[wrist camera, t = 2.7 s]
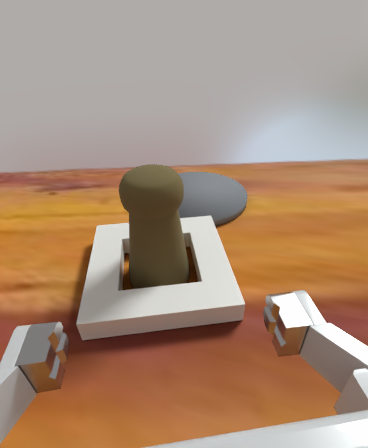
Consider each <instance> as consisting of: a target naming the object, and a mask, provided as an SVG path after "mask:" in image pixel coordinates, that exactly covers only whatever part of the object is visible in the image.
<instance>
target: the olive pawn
mask: <svg viewBox="0 0 368 448" xmlns="http://www.w3.org/2000/svg"><path fill="white" fill-rule="evenodd" d="M119 194H120V199H121V202H122V204H123V207H124V209H126V210H127V211H128V212H129V279H130V283H131V285H132V286H133V288H134V289H139V288H148V287H157V286H166V285H175V284H184V283H187V282H188V280H189V277H190V269H189V263H188V258H187V253H186V248H185V242H184V237H183V232H182V227H181V221H180V216H179V211H178V208H179V207H180V205H181V204H182V201H183V197H184V185H183V181H182V179H181V177H180V176H179V175H178V173H177V172H176V171H175V170H173V169H172V168H170V167H167V166H163V165H143V166H139V167H136V168H134V169H132V170H130V171H128V172H127V173H126V174H125V175H124V176H123V178H122V180H121V182H120V185H119Z"/></svg>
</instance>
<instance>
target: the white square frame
mask: <svg viewBox="0 0 368 448" xmlns="http://www.w3.org/2000/svg"><path fill="white" fill-rule="evenodd" d="M180 221H181V227H182V232H183V237H184V242H185V247H190V248H191V252H192V257H193V261H194V265H195V269H196V274H197V278H198V282H193V283H184V284H175V285H166V286H157V287H148V288H139V289H130V290H122V288H123V273H124V257H125V253H129V223H121V224H110V225H99V226H97V229H96V233H95V238H94V243H93V248H92V252H91V257H90V262H89V266H88V271H87V276H86V280H85V285H84V290H83V295H82V299H81V304H80V309H79V313H78V318H77V323H76V326H77V328H78V331H79V333H80V336H81V339H82V340H89V339H97V338H105V337H112V336H120V335H128V334H136V333H144V332H152V331H160V330H168V329H176V328H184V327H192V326H200V325H208V324H216V323H224V322H232V321H240V320H243V315H244V309H245V302H244V300H243V297H242V295H241V292H240V289H239V287H238V284H237V282H236V279H235V276H234V274H233V271H232V269H231V266H230V263H229V261H228V258H227V256H226V253H225V250H224V248H223V245H222V243H221V240H220V237H219V235H218V232H217V230H216V227H215V224H214V222H213V219H212V217H211V216H200V217H189V218H180Z"/></svg>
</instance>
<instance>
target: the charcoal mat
mask: <svg viewBox="0 0 368 448" xmlns="http://www.w3.org/2000/svg"><path fill="white" fill-rule="evenodd" d="M178 175H179V176H180V177H181V179H182V181H183V185H184V197H183V201H182V204H181V205H180V207H179V208H178V211H179V216H180V218H189V217H200V216H211V217H212V219H213V222H214V224H215V226H217V225H221V224H225V223H227V222H230V221H232V220H234V219H235V218H237V217H238V216H239V215H241V214H242V212H243V211H244V210H245V208H246V203H247V192H246V190H245V188H244V187H243V186H242V185H241V184H240V183H238V182H237V181H235V180H233V179H231V178H229V177H226V176H223V175H219V174H215V173H208V172H186V173H179V174H178Z"/></svg>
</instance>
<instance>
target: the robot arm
mask: <svg viewBox="0 0 368 448" xmlns="http://www.w3.org/2000/svg"><path fill="white" fill-rule="evenodd" d="M266 303H267V306H266V307H265V308H264V312H263V316H264V322H265V326H266V328H267V331H268V332H269V333H270V334H272V335H273V339H272V343H273V345H274V347H275V349H276V352H277V354H278V356H279V357H281V356H290V355H298V354H300V356H301V357H302V358H303V359H304V360H305V361H306V362H307V363H308V364H310V365H311V366H312V367H313V368H314V369H315V370H316V371H317V372H318V373H319V374H321V375H322V376H323V377H324V378H325V379H326V380H327V381H328V382H329V383H331V384H332V385H333V386H334V387H335V388H336V389H337V390H338V391H339V392H340V393H341V394H340V396H339V398H338V400H337V402H336V403H335V406H334V408H335V410H336V412H337V414H338V415H334V416H328V417H322V418H316V419H310V420H304V421H298V422H292V423H286V424H280V425H274V426H269V427H263V428H257V429H251V430H245V431H239V432H233V433H227V434H221V435H215V436H209V437H203V438H197V439H191V440H185V441H179V442H173V443H167V444H161V445H155V446H149V447H144V448H368V347H367V346H366V345H364V344H363V343H361V342H360V341H358V340H356V339H355V338H353V337H352V336H350V335H349V334H347V333H345V332H344V331H342V330H341V329H339V328H338V327H336V326H334V325H333V324H331V323H326V321H325V320H324V318H323V317H322V315H321V314H320V312H319V311H318V309H317V308H316V306H315V305H314V303H313V301H312V300H311V298H310V297H309V295H308V294H307V292H306V291H304V290H301V291H294V292H284V293H277V294H270V295H267V297H266ZM62 330H63V326H62V324H61V322H53V323H43V324H34V325H25V326H18V327H17V328H16V329H15V330H14V332H13V334H12V336H11V339H10V341H9V343H8V346H7V348H6V350H5V353H4V355H3V357H2V360H1V362H0V444H1V442H2V441H3V440H4V438H5V437H6V436H7V434H8V433H9V432H10V430H11V429H12V428H13V426H14V425H15V424H16V422H17V421H18V419H19V418H20V417H21V415H22V414H23V413H24V411H25V410H26V409H27V407H28V406H29V405H30V403H31V402H32V401H33V399H34V398H35V396H36V395H37V393H40V392H45V391H51V390H57V389H61V385H62V381H63V377H64V372H65V370H64V368H63V366H62V365H63V364H64V363H65V361H66V360H67V359H68V354H69V341H68V337H67V335H66V334H65V333H63V332H62Z"/></svg>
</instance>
